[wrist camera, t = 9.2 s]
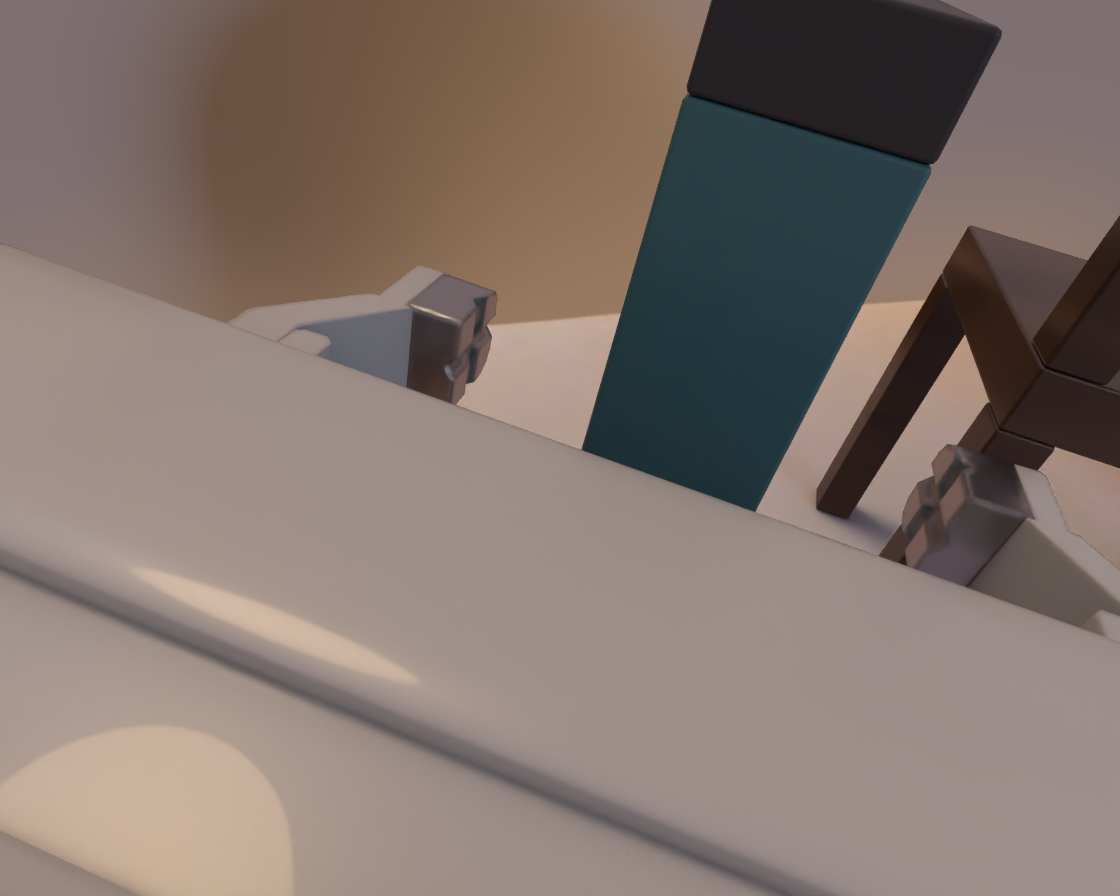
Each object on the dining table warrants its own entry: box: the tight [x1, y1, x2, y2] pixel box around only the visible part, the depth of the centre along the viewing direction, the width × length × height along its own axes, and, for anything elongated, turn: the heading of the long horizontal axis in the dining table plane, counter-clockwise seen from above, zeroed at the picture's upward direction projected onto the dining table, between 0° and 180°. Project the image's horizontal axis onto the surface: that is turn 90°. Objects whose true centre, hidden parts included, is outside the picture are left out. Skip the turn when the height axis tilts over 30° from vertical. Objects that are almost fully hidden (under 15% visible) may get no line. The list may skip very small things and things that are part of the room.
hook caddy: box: [582, 0, 1002, 512], centre depth 14 cm, size 12×5×16 cm, turn 163°
